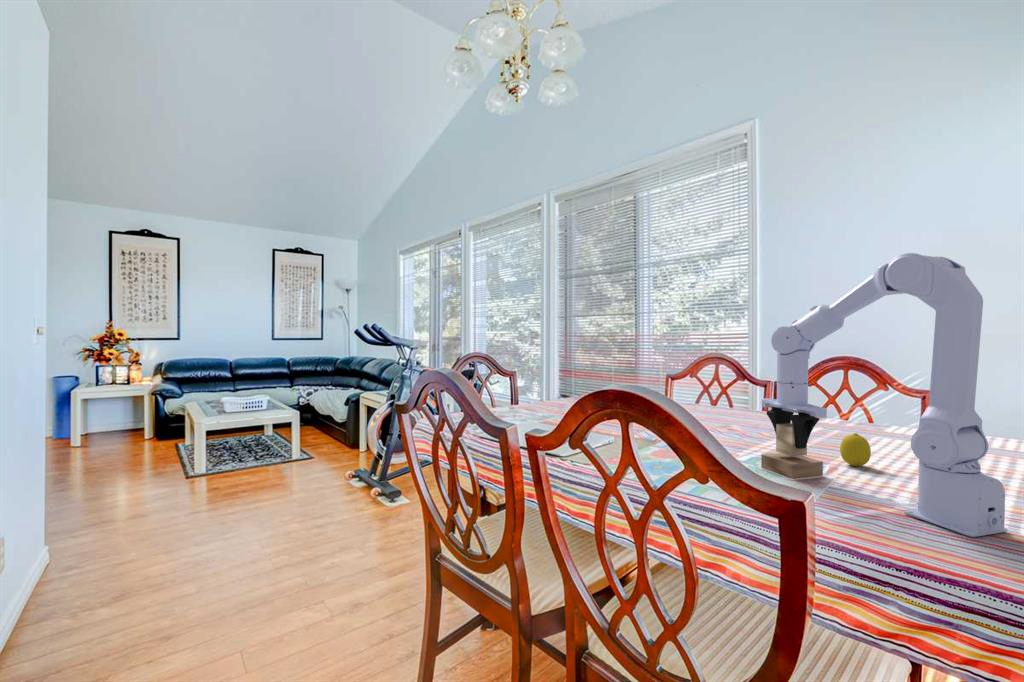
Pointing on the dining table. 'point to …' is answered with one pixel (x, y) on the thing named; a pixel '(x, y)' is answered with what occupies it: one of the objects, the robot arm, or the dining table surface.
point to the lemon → (855, 450)
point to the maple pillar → (787, 441)
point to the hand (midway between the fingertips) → (791, 445)
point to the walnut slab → (792, 465)
